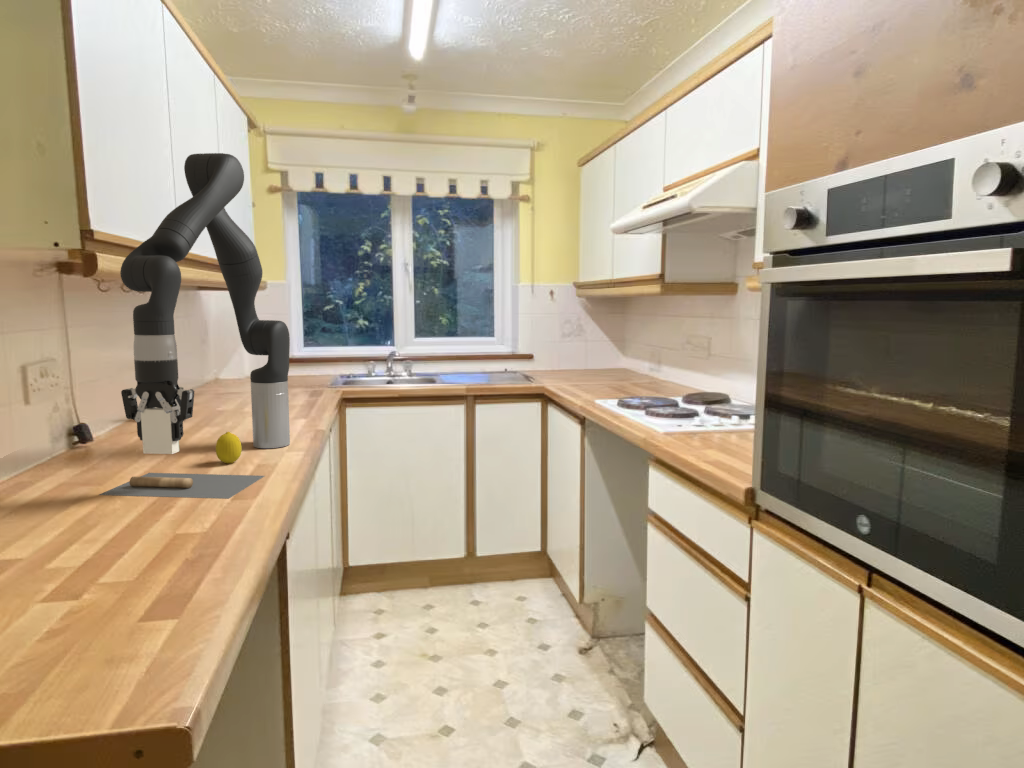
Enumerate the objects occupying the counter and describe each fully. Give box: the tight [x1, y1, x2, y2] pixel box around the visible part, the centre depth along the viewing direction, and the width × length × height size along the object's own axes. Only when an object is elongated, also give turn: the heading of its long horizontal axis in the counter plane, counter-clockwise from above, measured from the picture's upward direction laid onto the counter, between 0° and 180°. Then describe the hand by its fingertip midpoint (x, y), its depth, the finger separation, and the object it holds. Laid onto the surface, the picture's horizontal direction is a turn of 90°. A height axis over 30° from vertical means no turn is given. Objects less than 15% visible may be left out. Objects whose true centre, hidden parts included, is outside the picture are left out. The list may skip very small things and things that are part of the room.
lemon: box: [215, 431, 243, 465], centre depth 147 cm, size 6×6×8 cm
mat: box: [98, 472, 265, 500], centre depth 130 cm, size 16×26×1 cm, turn 87°
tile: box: [141, 407, 180, 455], centre depth 127 cm, size 2×6×9 cm, turn 87°
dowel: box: [129, 476, 193, 488], centre depth 128 cm, size 2×12×2 cm, turn 87°
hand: (160, 439), depth 127 cm, fingers closed on tile, 6 cm apart
